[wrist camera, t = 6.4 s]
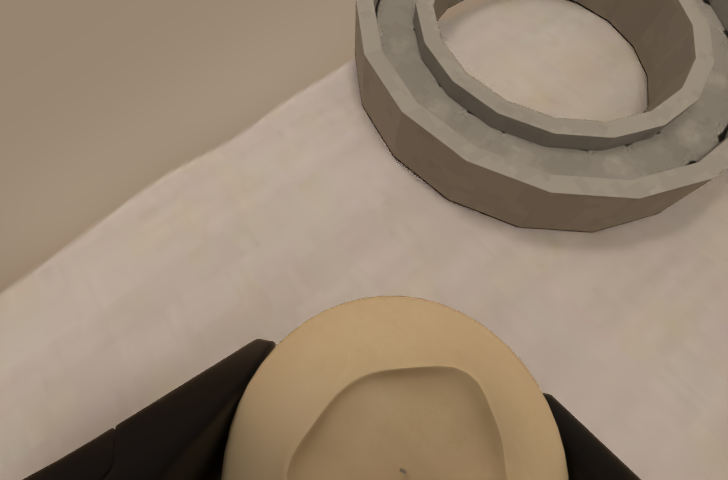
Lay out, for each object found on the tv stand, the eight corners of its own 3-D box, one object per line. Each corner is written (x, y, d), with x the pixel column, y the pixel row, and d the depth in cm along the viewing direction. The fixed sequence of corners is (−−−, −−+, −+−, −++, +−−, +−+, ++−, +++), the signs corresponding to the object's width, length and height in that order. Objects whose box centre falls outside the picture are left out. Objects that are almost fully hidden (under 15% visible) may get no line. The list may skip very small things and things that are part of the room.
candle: (364, 323, 16) (383, 203, 7) (481, 426, 15) (704, 454, 5) (259, 443, 14) (89, 505, 5) (381, 571, 13) (454, 970, 4)
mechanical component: (313, 180, 18) (307, 138, 15) (397, -76, 25) (403, -136, 22) (736, 275, 17) (811, 250, 14) (701, -19, 24) (747, -74, 21)
